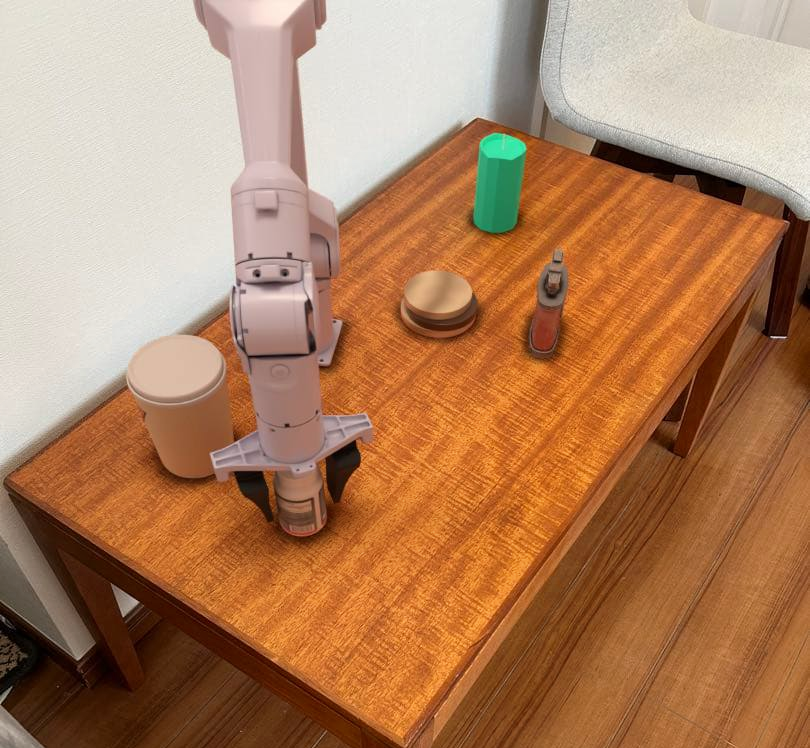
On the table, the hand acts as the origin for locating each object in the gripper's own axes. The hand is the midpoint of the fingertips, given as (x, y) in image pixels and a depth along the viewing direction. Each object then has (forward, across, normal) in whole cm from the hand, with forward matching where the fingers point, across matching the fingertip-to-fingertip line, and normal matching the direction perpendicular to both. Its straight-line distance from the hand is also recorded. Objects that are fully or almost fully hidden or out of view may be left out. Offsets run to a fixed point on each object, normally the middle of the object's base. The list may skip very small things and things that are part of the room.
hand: (301, 505), depth 82 cm
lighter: (+2, +35, +17) cm, 39 cm away
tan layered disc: (+2, +25, +25) cm, 35 cm away
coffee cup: (+2, -8, +13) cm, 15 cm away
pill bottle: (+2, 0, 0) cm, 2 cm away
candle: (+2, +40, +41) cm, 57 cm away
